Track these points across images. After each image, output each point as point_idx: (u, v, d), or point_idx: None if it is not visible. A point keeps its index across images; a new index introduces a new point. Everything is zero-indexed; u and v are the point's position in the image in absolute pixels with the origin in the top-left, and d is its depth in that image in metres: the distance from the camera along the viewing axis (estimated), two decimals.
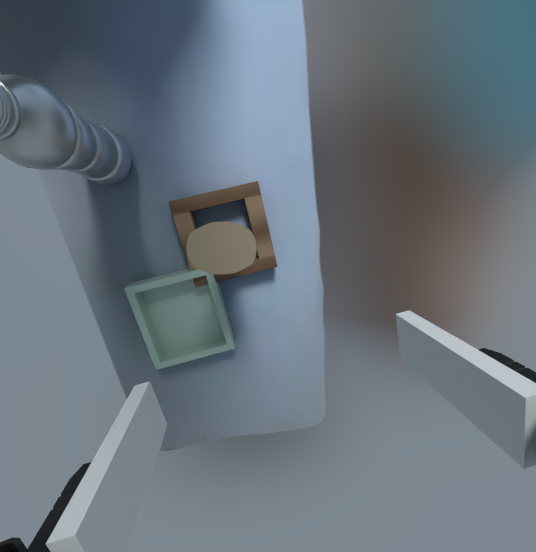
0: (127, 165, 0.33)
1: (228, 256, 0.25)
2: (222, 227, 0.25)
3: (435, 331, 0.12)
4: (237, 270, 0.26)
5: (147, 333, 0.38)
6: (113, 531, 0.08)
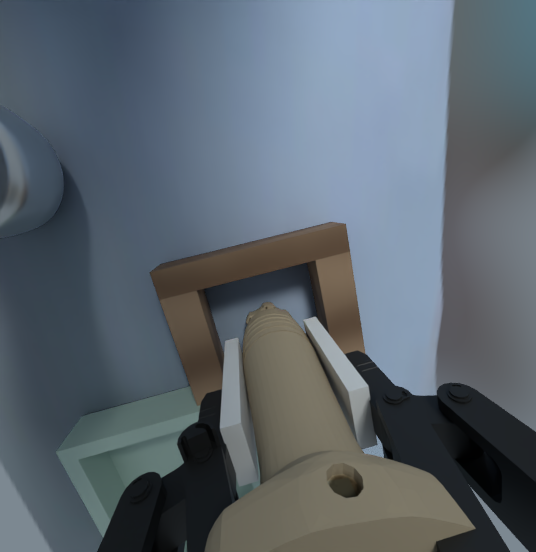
0: (48, 194, 0.14)
1: None
2: (369, 539, 0.05)
3: (322, 335, 0.14)
4: None
5: None
6: (249, 434, 0.11)
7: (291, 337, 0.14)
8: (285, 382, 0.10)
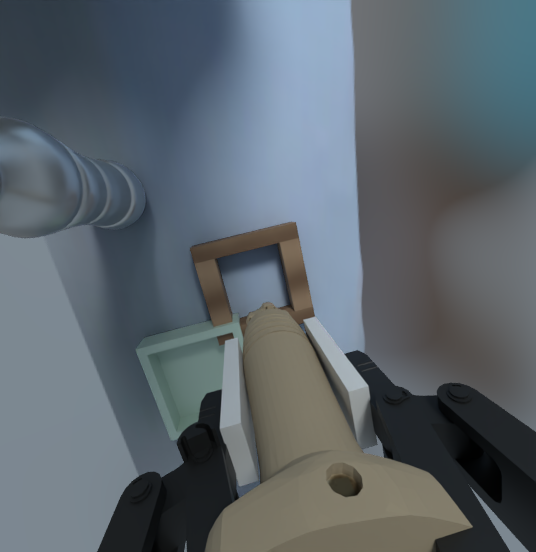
0: (141, 207, 0.28)
1: None
2: (368, 537, 0.05)
3: (322, 335, 0.14)
4: None
5: (161, 400, 0.32)
6: (249, 434, 0.11)
7: (291, 337, 0.14)
8: (285, 382, 0.10)
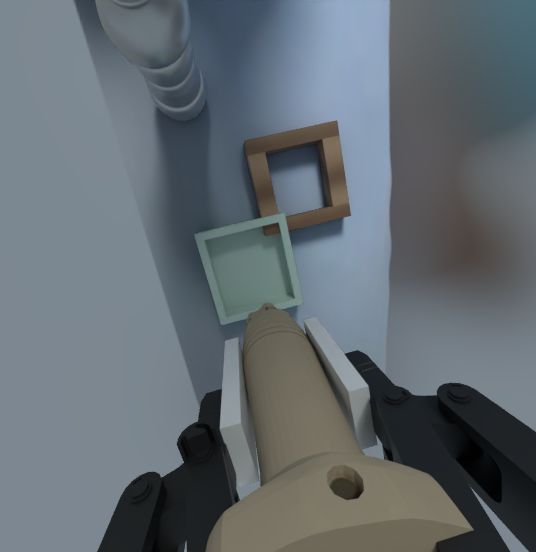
0: (205, 98, 0.31)
1: None
2: (369, 541, 0.05)
3: (322, 335, 0.14)
4: None
5: (214, 285, 0.36)
6: (249, 434, 0.11)
7: (291, 337, 0.14)
8: (285, 383, 0.10)
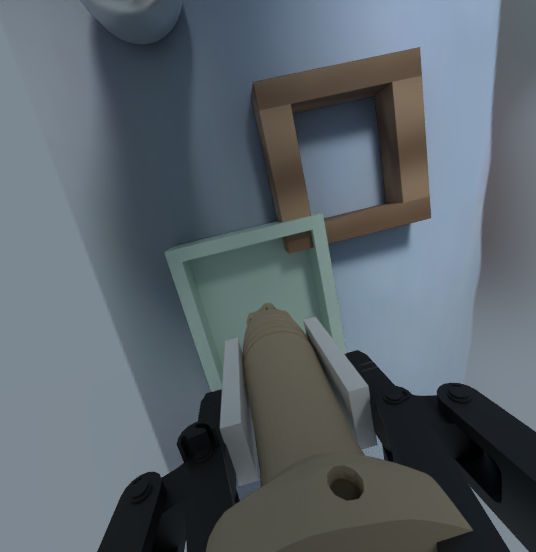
0: None
1: None
2: (369, 542, 0.05)
3: (322, 335, 0.14)
4: None
5: (202, 336, 0.21)
6: (249, 434, 0.11)
7: (291, 338, 0.14)
8: (285, 383, 0.10)
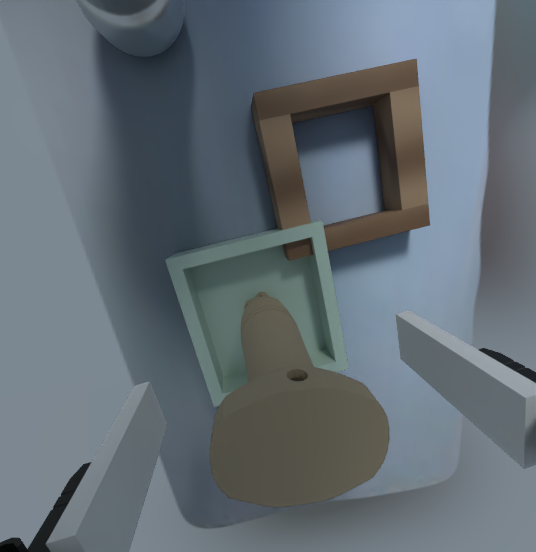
0: (180, 8, 0.17)
1: (316, 464, 0.10)
2: (307, 401, 0.09)
3: (435, 331, 0.12)
4: (337, 492, 0.10)
5: (202, 343, 0.21)
6: (113, 531, 0.08)
7: (277, 313, 0.17)
8: (269, 339, 0.14)
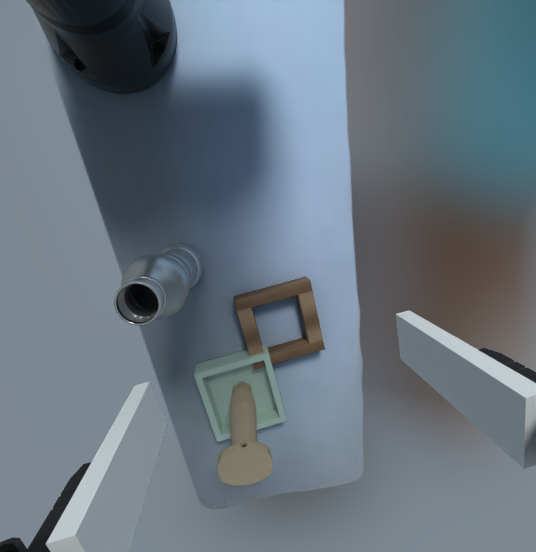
0: (201, 274, 0.39)
1: (250, 472, 0.32)
2: (245, 453, 0.31)
3: (435, 331, 0.12)
4: (257, 481, 0.32)
5: (211, 411, 0.43)
6: (113, 531, 0.08)
7: (245, 404, 0.39)
8: (239, 422, 0.36)
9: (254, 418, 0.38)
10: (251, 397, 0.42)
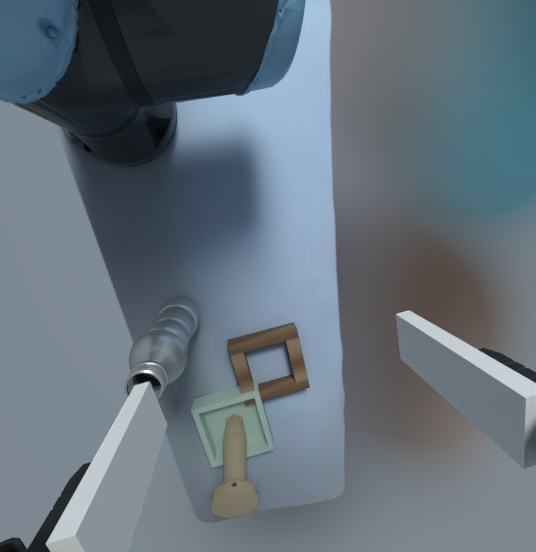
0: (198, 325, 0.43)
1: (239, 507, 0.37)
2: (235, 492, 0.36)
3: (435, 331, 0.12)
4: (245, 514, 0.37)
5: (206, 442, 0.48)
6: (113, 531, 0.08)
7: (237, 439, 0.44)
8: (231, 459, 0.41)
9: (244, 453, 0.43)
10: (242, 431, 0.47)
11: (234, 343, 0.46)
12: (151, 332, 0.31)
